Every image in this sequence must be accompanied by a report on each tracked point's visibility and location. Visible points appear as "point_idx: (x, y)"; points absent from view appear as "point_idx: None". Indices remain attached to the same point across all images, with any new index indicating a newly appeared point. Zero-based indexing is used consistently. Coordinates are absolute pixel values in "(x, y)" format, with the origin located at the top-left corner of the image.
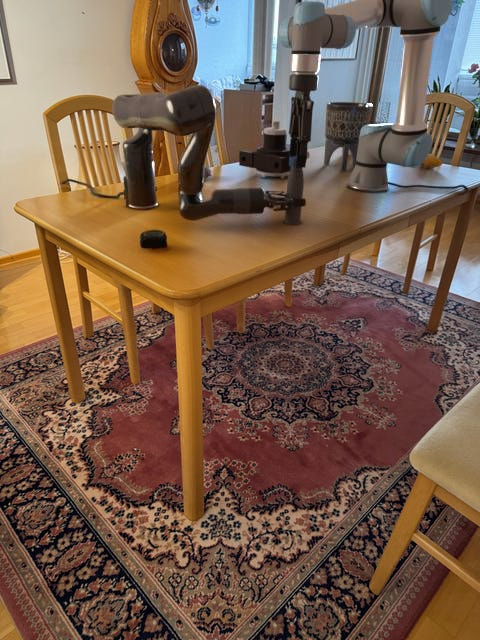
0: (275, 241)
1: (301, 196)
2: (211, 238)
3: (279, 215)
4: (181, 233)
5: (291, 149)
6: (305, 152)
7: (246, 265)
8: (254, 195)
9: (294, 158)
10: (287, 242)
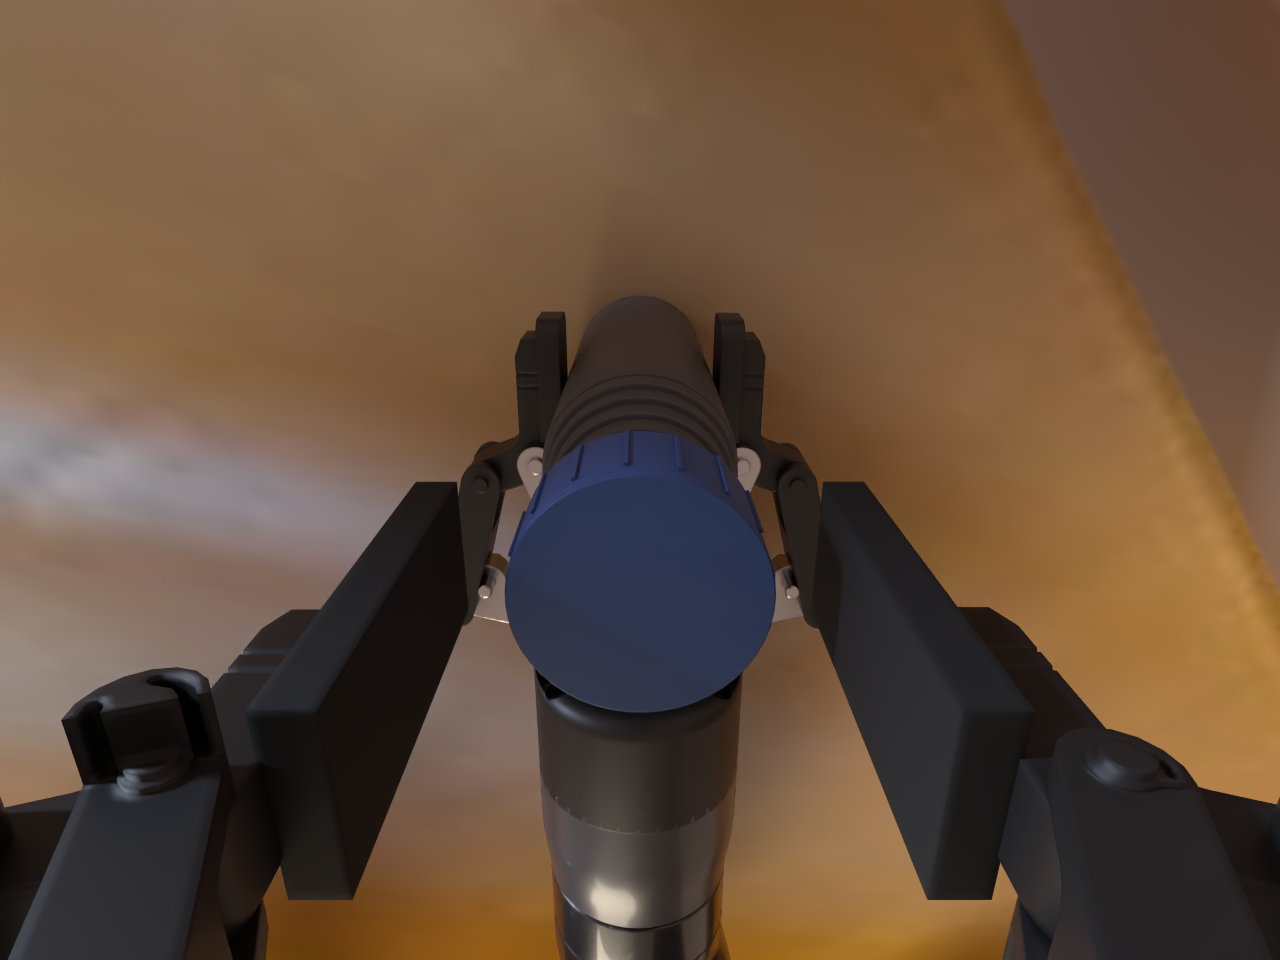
0: (996, 553)
1: (700, 361)
2: (862, 846)
3: (466, 413)
4: (760, 954)
5: (417, 714)
6: (1030, 647)
7: (1271, 746)
8: (721, 773)
9: (738, 670)
10: (1034, 488)
